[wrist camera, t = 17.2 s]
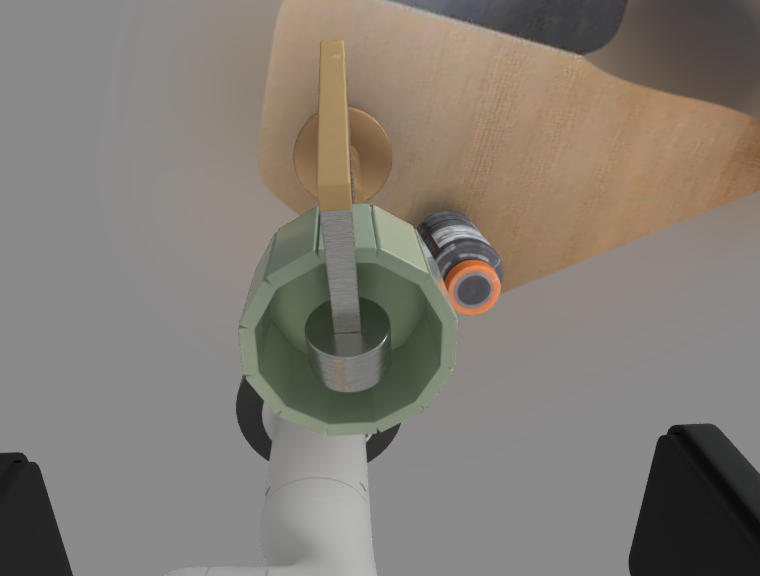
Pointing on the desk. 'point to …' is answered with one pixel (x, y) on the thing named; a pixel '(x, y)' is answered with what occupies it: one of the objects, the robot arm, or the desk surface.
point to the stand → (366, 155)
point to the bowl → (375, 282)
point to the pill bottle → (463, 261)
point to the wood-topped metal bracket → (342, 251)
